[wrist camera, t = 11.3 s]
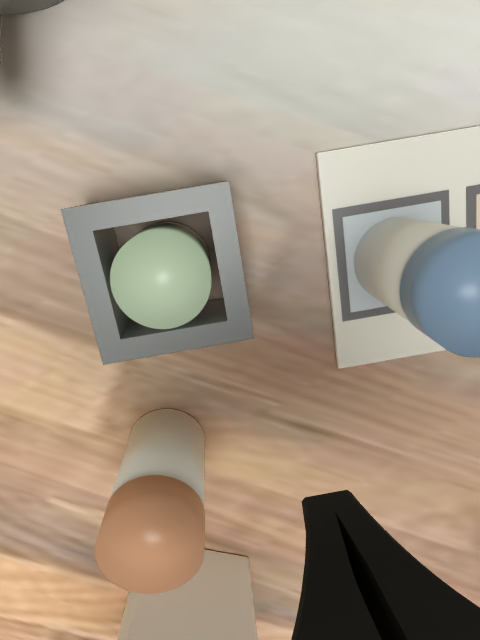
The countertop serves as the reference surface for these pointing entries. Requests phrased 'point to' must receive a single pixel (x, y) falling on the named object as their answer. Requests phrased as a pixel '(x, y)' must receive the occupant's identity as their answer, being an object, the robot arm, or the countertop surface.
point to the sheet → (381, 203)
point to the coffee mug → (22, 9)
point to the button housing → (101, 248)
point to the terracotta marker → (156, 507)
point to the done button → (162, 276)
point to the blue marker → (426, 278)
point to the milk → (197, 605)
